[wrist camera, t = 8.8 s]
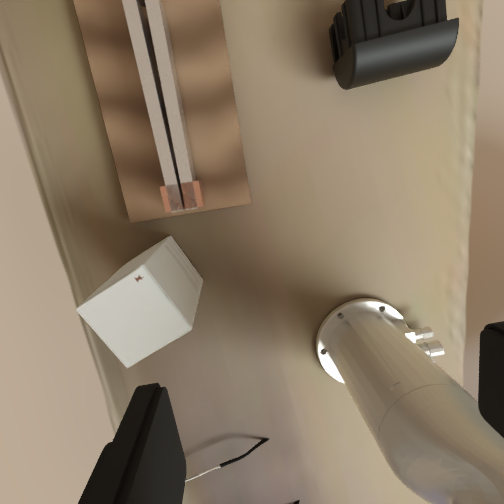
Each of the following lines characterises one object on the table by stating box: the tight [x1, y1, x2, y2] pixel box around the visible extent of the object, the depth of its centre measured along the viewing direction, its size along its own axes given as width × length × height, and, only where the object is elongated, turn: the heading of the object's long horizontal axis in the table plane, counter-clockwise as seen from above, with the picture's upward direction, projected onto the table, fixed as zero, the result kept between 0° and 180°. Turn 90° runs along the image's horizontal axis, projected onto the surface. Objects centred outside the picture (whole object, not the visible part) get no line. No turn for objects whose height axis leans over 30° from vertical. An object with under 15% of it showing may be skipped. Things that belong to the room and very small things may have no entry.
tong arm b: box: [122, 0, 185, 213], centre depth 31 cm, size 19×2×4 cm, turn 10°
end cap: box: [329, 0, 459, 90], centre depth 32 cm, size 10×7×7 cm
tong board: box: [73, 0, 251, 223], centre depth 31 cm, size 24×14×6 cm, turn 9°
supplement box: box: [76, 235, 203, 368], centre depth 33 cm, size 7×7×13 cm
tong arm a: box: [145, 0, 206, 210], centre depth 31 cm, size 19×2×4 cm, turn 8°
